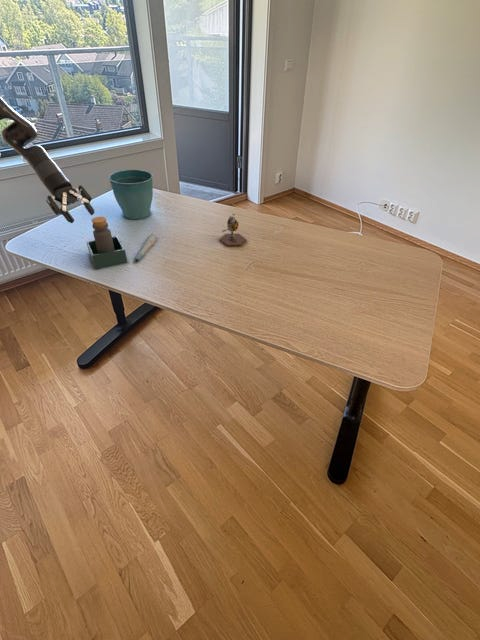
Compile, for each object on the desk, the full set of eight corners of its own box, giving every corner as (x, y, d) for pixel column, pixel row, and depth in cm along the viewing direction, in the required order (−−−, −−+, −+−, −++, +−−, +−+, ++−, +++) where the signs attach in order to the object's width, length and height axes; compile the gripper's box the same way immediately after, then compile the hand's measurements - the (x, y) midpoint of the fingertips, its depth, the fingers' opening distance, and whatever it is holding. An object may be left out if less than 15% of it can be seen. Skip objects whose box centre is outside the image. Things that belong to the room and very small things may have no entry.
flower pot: (116, 207, 162) (109, 169, 151) (155, 205, 166) (151, 168, 155) (115, 224, 149) (107, 184, 138) (158, 221, 153) (153, 182, 142)
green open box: (95, 269, 122) (92, 256, 119) (89, 255, 130) (86, 241, 126) (127, 263, 127) (124, 249, 123) (120, 249, 134) (117, 235, 130)
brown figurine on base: (229, 232, 148) (229, 205, 140) (248, 238, 145) (250, 210, 137) (216, 243, 140) (216, 215, 132) (237, 249, 138) (238, 221, 130)
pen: (150, 238, 141) (149, 232, 139) (157, 239, 141) (156, 233, 139) (132, 263, 127) (130, 256, 125) (140, 264, 126) (139, 257, 125)
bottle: (113, 262, 126) (104, 223, 116) (97, 261, 125) (87, 222, 116) (118, 253, 130) (110, 216, 120) (102, 253, 130) (93, 215, 120)
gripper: (35, 176, 111) (68, 219, 115) (73, 166, 121) (102, 206, 124) (31, 189, 117) (63, 230, 120) (67, 178, 126) (96, 216, 129)
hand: (83, 217), depth 122 cm, fingers open, 8 cm apart
